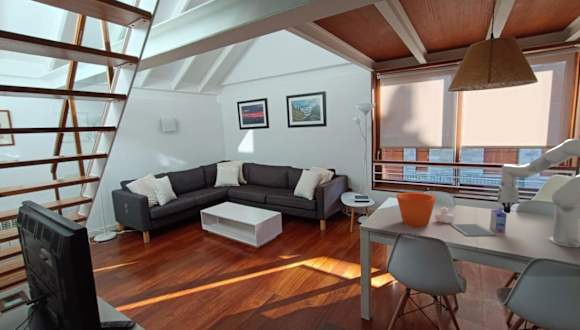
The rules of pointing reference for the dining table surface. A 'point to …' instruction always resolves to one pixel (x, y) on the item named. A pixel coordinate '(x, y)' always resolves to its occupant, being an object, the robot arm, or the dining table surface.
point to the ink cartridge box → (498, 220)
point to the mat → (472, 230)
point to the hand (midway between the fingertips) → (506, 212)
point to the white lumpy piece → (444, 216)
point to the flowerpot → (416, 208)
